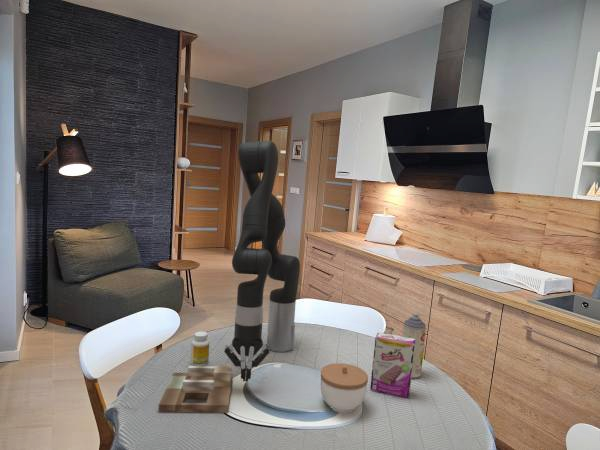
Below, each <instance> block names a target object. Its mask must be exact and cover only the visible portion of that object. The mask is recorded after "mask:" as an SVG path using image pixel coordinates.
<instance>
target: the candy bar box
mask: <svg viewBox="0 0 600 450" xmlns="http://www.w3.org/2000/svg"><path fill="white" fill-rule="evenodd" d="M402 336H403V335H402ZM402 336H401V335H396V334H391V333H386V332H379V331H377V333H376V335H375V339H374V348H373V349H374V350H373V357H372V367H371V368H372V370H371V378H370V379H371V380H370V387H369V389H370V391H373V392H379V393H383V394H386V395H391V396H395V397H400V398H403V399H409V396H410V391H411V388H412V387H411V384H412V379H411V377H412V368H413V359H414V350H415V341H416V340H415V339H412V338H407V337H402Z"/></svg>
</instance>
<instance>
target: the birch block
mask: <svg viewBox="0 0 600 450" xmlns="http://www.w3.org/2000/svg"><path fill="white" fill-rule="evenodd" d="M232 370H233V369H232V365H226V364H225V365H224V364H223V365H217V364H216V365H215V370H214V387H230V383H231V374H232Z"/></svg>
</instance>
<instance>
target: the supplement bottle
mask: <svg viewBox="0 0 600 450" xmlns="http://www.w3.org/2000/svg"><path fill="white" fill-rule="evenodd" d="M193 336H194V337H193V338H194V339H193V340H192V342H191V353H190V354H191V355H190V363H191V365H192V366H207V365H208V363H209V353H210V340H209V339H208V332H206V331H197V332H195V333H194V334H193Z"/></svg>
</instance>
